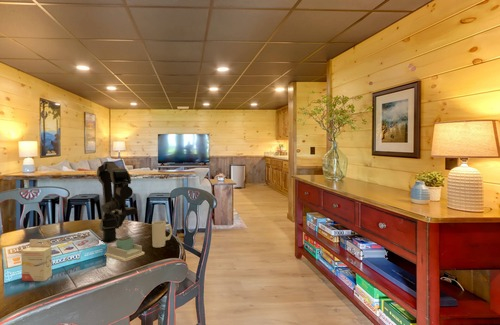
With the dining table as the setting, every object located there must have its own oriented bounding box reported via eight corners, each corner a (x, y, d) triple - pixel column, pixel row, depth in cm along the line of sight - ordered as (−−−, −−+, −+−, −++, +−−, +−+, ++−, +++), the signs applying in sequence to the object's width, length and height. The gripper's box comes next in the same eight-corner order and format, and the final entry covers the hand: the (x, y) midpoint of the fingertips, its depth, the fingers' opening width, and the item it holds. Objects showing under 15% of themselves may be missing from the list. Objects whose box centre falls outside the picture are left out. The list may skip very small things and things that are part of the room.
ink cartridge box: (21, 281, 114) (19, 242, 113) (30, 275, 119) (29, 238, 118) (44, 281, 114) (43, 242, 114) (52, 275, 119) (51, 238, 118)
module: (121, 252, 139) (121, 240, 139) (116, 250, 141) (116, 238, 141) (133, 248, 144) (132, 236, 144) (127, 247, 146) (127, 235, 146)
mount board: (104, 255, 141) (104, 246, 141) (124, 248, 151) (124, 240, 151) (124, 261, 134) (124, 252, 134) (144, 254, 144) (144, 245, 144)
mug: (151, 248, 152) (151, 224, 152) (152, 244, 159) (152, 221, 158) (172, 247, 155) (172, 223, 154) (172, 242, 161) (172, 220, 161)
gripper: (92, 195, 146) (92, 227, 147) (117, 200, 136) (117, 234, 138) (113, 191, 155) (113, 222, 157) (137, 196, 146) (137, 228, 147)
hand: (119, 226), depth 149 cm, fingers closed
